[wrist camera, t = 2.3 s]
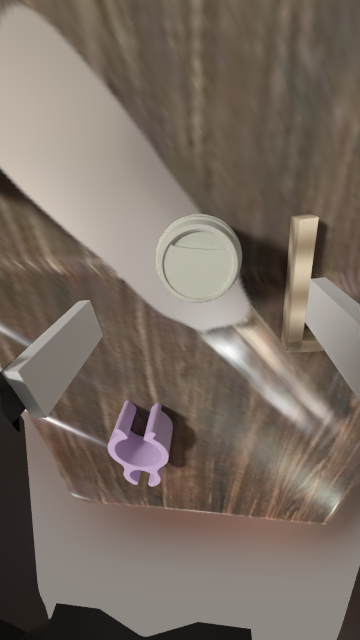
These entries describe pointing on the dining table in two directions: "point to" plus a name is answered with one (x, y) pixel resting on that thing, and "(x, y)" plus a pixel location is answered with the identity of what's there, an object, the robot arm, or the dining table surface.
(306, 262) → the u rest
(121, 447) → the clip
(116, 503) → the dining table surface
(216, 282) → the coffee cup
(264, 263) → the dining table surface
